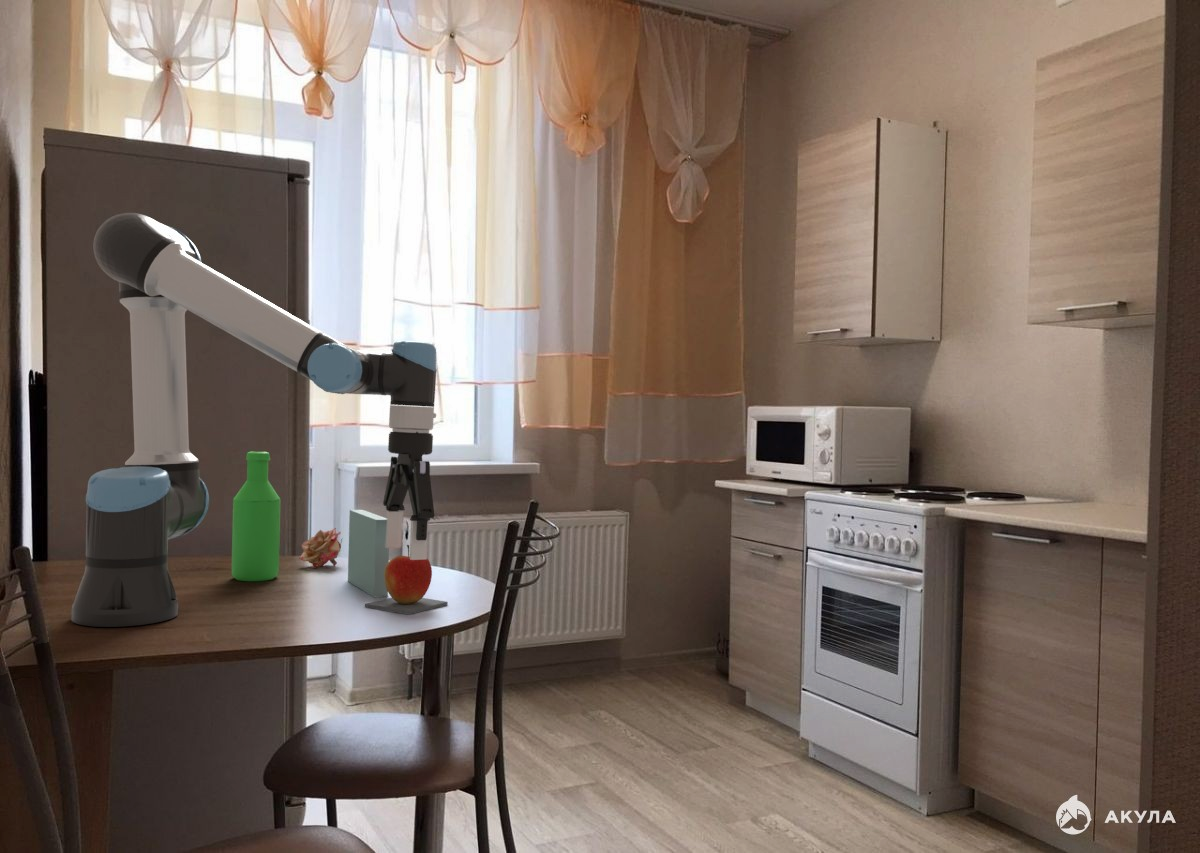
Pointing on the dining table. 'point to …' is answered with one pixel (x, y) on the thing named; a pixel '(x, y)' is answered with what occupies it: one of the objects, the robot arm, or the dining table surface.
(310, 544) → the flower
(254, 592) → the dining table surface
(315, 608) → the dining table surface
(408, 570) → the apple
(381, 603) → the coaster
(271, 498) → the bottle
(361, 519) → the grey-green flat block
